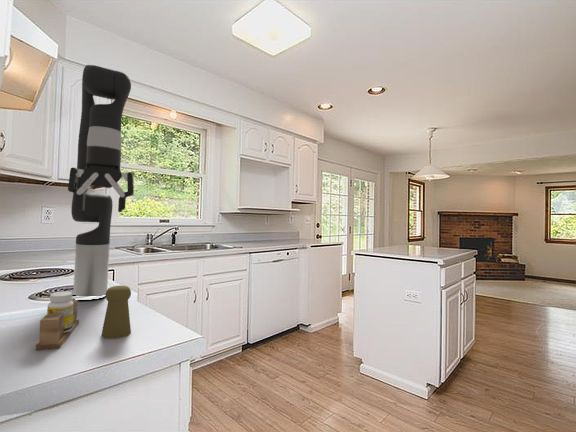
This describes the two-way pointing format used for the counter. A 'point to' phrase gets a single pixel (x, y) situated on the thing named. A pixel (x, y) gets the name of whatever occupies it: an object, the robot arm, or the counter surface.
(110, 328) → the brown tapered upright piece
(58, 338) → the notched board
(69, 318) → the supplement bottle
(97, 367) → the counter surface
